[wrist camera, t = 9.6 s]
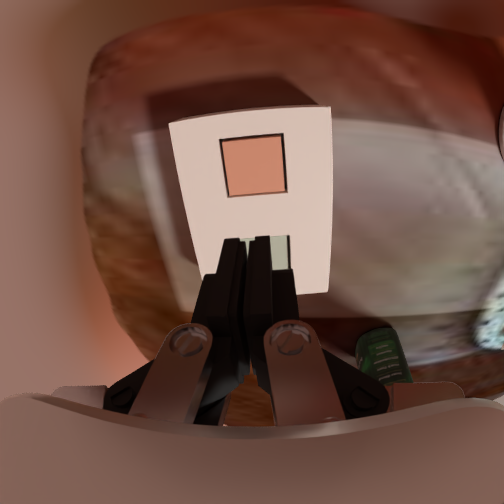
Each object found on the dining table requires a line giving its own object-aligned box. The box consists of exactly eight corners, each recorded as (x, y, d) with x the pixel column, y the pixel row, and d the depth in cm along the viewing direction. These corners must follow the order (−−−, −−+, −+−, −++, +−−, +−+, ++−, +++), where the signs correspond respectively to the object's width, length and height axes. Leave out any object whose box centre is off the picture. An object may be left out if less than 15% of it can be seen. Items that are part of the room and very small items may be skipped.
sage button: (284, 220, 31) (286, 235, 28) (286, 258, 33) (288, 275, 30) (239, 224, 31) (237, 239, 28) (244, 261, 34) (243, 278, 31)
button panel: (318, 104, 25) (330, 107, 20) (320, 266, 35) (327, 291, 31) (183, 117, 26) (168, 123, 22) (213, 274, 36) (207, 299, 32)
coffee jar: (354, 331, 42) (380, 433, 26) (397, 320, 41) (434, 415, 25) (352, 362, 47) (370, 451, 31) (390, 353, 46) (416, 437, 30)
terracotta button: (278, 131, 25) (280, 136, 22) (282, 179, 27) (284, 191, 25) (226, 136, 25) (222, 142, 22) (232, 183, 28) (229, 195, 25)
